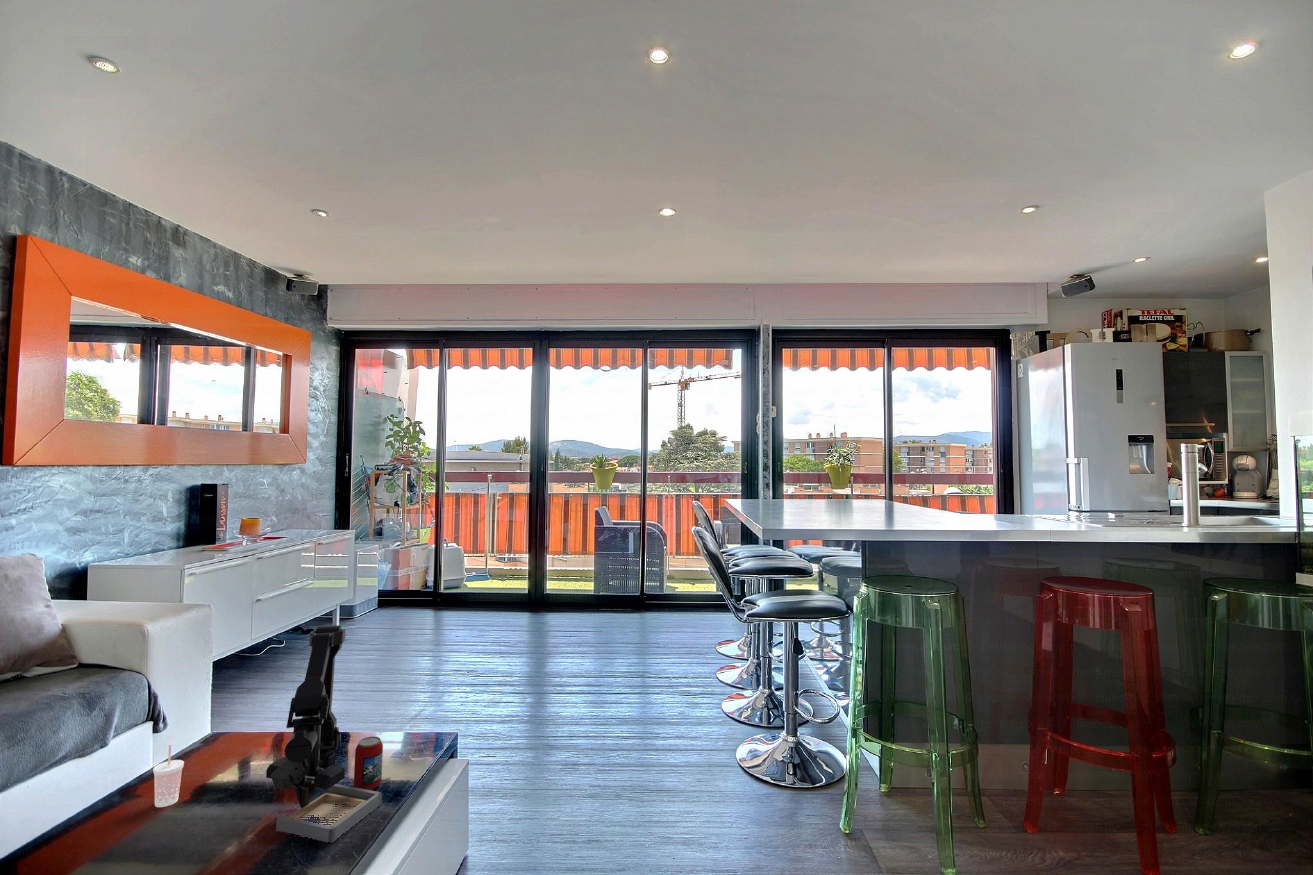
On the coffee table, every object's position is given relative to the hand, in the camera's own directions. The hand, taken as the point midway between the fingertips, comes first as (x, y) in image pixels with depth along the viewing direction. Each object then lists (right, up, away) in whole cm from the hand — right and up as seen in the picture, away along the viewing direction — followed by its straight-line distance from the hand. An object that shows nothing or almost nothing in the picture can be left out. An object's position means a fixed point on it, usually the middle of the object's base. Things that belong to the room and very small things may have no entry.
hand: (303, 807), depth 152 cm
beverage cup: (-36, 0, +2) cm, 36 cm away
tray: (+7, -2, -2) cm, 7 cm away
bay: (+7, -1, -2) cm, 8 cm away
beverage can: (+10, -2, +12) cm, 16 cm away
